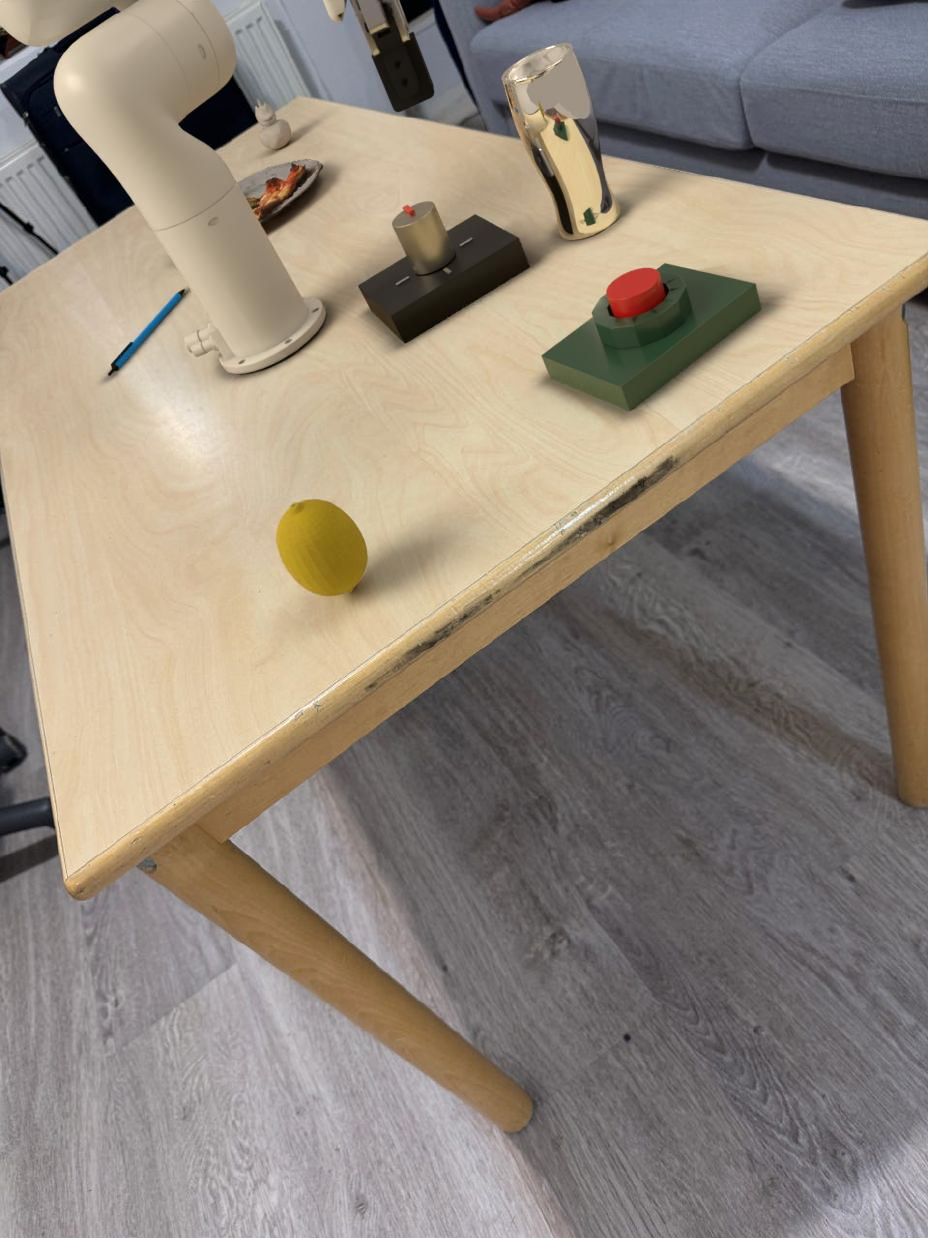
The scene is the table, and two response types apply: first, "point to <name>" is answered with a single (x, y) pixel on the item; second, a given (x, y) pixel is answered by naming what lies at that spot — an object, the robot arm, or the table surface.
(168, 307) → the pen
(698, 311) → the switchbox
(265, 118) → the rubber duck
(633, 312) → the button
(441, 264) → the knob
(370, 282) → the panel
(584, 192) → the beer glass
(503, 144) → the table surface
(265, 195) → the food plate
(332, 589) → the lemon
